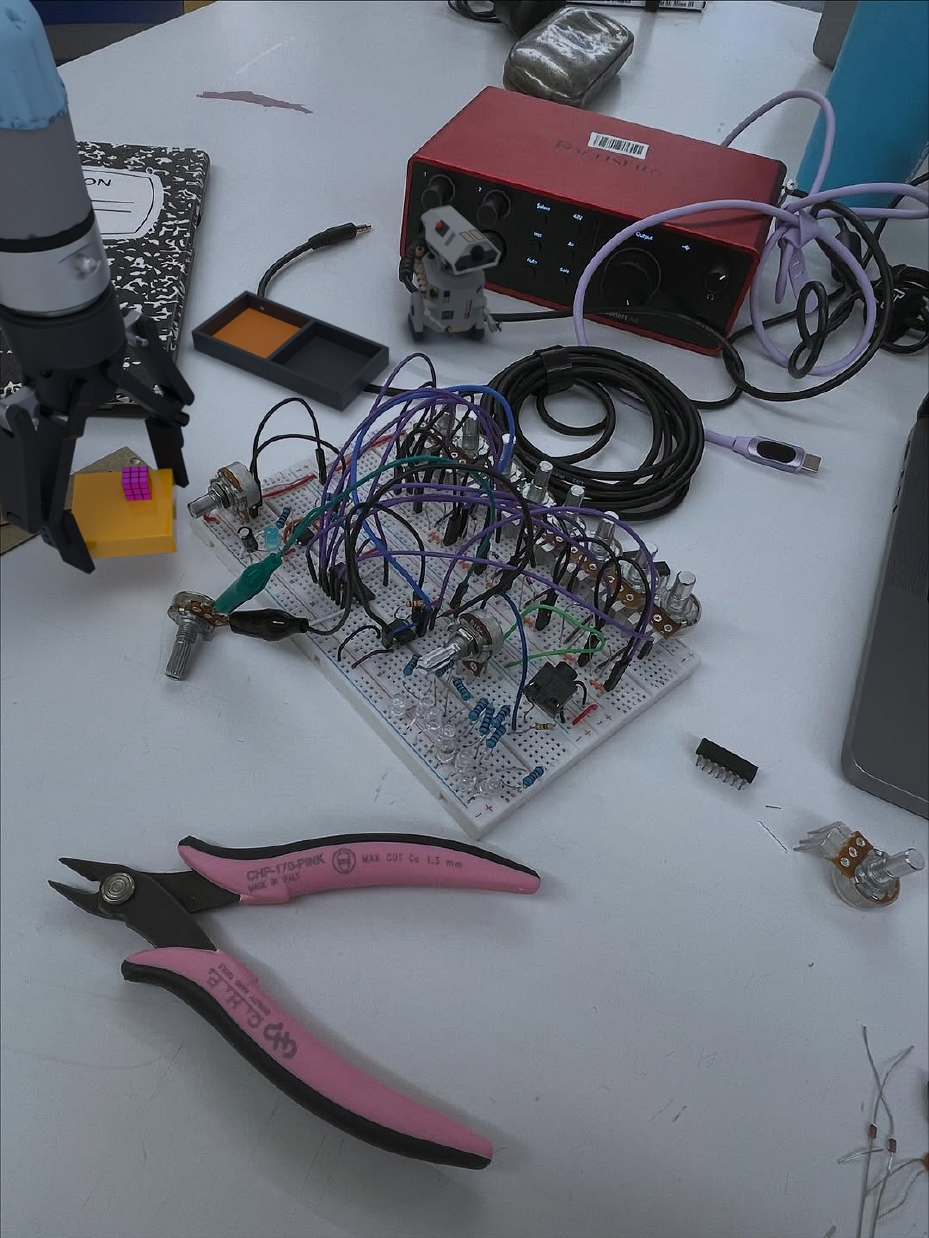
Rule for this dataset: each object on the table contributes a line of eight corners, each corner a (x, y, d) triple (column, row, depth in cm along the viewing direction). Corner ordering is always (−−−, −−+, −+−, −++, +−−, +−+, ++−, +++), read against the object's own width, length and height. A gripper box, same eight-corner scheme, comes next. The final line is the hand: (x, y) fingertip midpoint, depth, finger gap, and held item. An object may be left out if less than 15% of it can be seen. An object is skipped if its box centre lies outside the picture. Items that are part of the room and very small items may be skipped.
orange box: (177, 552, 67) (167, 518, 64) (75, 561, 65) (60, 526, 62) (176, 486, 71) (167, 450, 68) (81, 492, 70) (67, 456, 66)
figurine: (423, 372, 94) (431, 251, 82) (405, 316, 100) (410, 196, 88) (496, 368, 96) (514, 248, 84) (474, 313, 102) (488, 195, 90)
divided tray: (194, 349, 92) (190, 331, 90) (248, 307, 98) (245, 290, 96) (342, 411, 88) (341, 394, 86) (389, 364, 94) (389, 347, 92)
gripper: (-56, 406, 43) (62, 634, 61) (215, 231, 57) (248, 459, 74) (-157, 357, 45) (-13, 593, 62) (130, 197, 58) (182, 429, 76)
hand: (129, 520), depth 68 cm, fingers closed on orange box, 11 cm apart
